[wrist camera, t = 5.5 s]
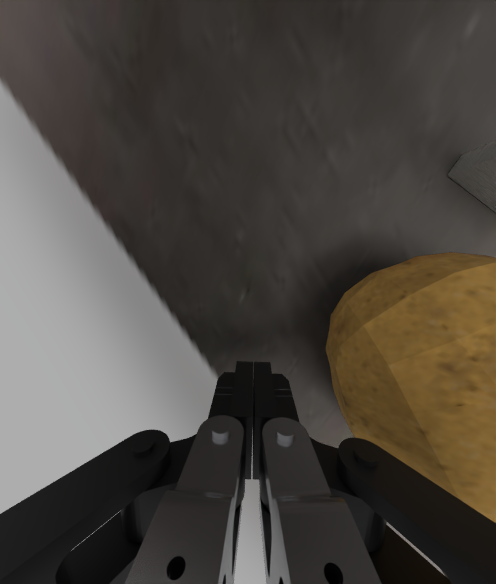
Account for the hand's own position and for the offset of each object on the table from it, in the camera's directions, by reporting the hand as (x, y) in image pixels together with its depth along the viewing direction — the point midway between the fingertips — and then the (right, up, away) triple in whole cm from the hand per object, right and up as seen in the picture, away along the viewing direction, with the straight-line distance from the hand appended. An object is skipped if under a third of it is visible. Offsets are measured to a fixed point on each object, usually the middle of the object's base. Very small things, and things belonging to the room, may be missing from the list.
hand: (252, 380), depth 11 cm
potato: (+9, 0, +4) cm, 10 cm away
